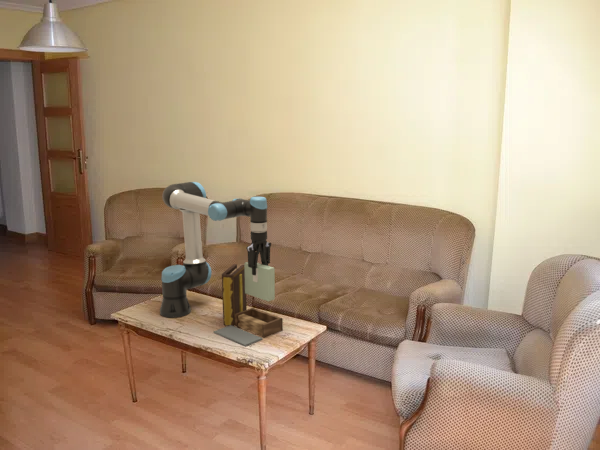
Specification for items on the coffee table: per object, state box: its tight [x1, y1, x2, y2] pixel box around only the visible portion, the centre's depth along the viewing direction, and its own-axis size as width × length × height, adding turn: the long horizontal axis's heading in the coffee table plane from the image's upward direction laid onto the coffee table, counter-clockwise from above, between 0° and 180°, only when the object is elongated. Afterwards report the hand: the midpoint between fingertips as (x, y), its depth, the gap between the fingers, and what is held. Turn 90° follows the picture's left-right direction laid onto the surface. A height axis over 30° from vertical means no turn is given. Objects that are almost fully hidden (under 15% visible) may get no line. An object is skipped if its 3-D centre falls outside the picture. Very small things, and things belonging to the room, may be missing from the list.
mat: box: [213, 325, 263, 347], centre depth 240 cm, size 22×10×1 cm, turn 47°
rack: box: [234, 307, 284, 339], centre depth 249 cm, size 20×12×6 cm, turn 47°
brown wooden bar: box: [237, 314, 267, 337], centre depth 246 cm, size 17×4×5 cm, turn 47°
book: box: [221, 263, 248, 327], centre depth 260 cm, size 22×8×25 cm, turn 168°
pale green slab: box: [243, 261, 276, 302], centre depth 246 cm, size 16×4×15 cm, turn 47°
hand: (259, 280), depth 246 cm, fingers closed on pale green slab, 4 cm apart
